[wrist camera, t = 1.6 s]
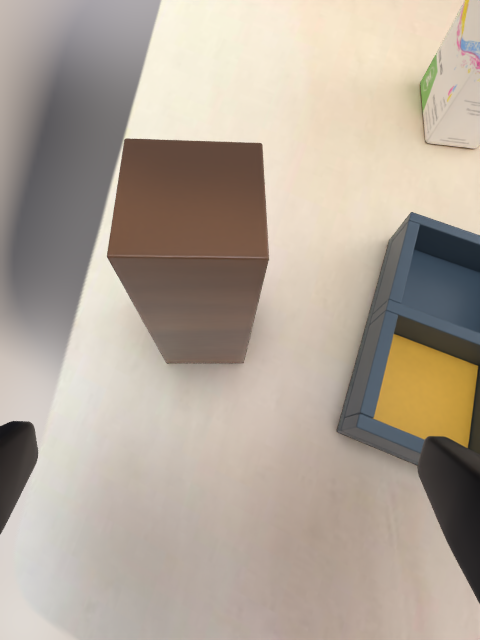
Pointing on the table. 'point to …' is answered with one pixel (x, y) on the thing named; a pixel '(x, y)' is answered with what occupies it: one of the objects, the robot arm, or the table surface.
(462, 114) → the ink box
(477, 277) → the grid
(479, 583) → the robot arm
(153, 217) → the block
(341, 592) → the table surface
